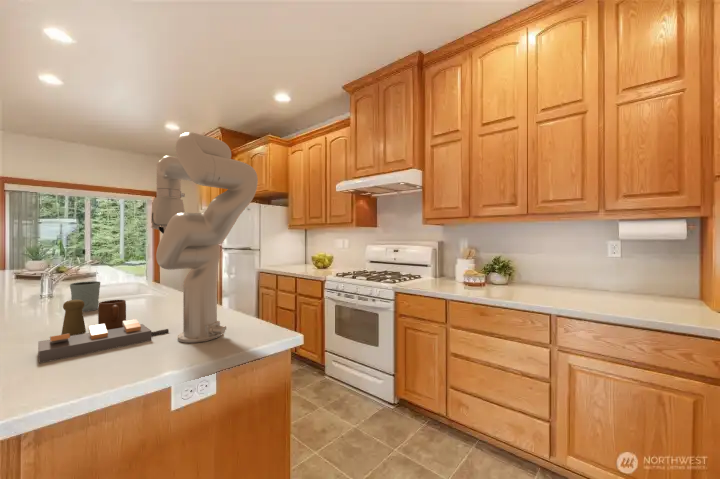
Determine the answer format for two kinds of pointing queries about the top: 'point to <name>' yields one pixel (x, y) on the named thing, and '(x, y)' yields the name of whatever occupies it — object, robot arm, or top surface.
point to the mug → (112, 313)
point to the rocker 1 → (59, 338)
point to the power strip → (93, 343)
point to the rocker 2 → (131, 325)
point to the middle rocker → (98, 331)
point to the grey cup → (86, 294)
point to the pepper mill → (73, 318)
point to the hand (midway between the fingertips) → (168, 245)
